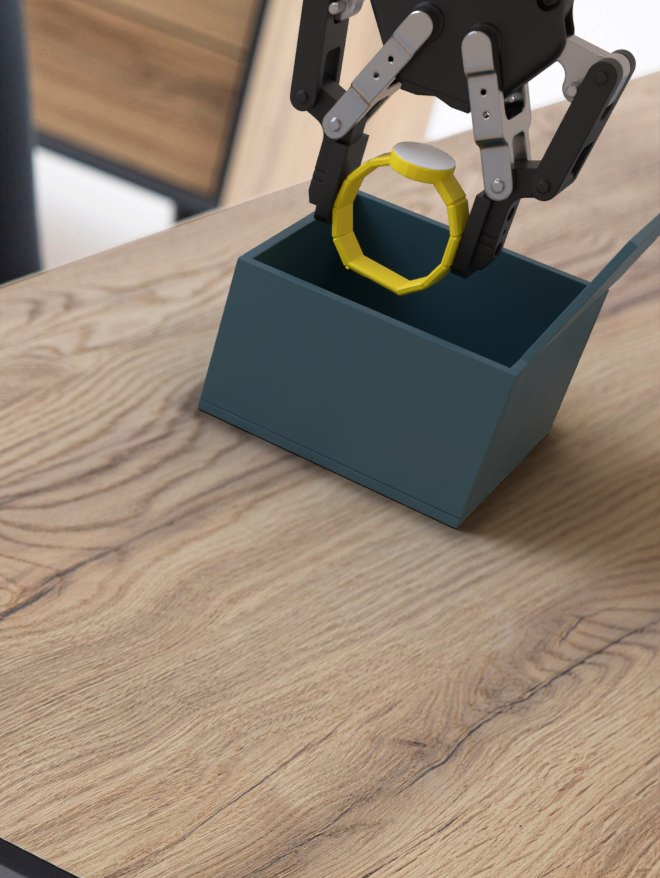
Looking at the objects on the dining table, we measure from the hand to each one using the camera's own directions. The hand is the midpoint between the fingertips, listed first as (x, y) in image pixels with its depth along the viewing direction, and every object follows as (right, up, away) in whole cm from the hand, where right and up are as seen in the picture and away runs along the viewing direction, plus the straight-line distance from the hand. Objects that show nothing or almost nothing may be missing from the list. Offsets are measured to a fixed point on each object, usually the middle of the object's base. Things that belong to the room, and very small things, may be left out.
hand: (395, 242), depth 77 cm
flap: (+8, -2, -5) cm, 10 cm away
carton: (0, -7, +4) cm, 8 cm away
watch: (-1, -2, +1) cm, 2 cm away
